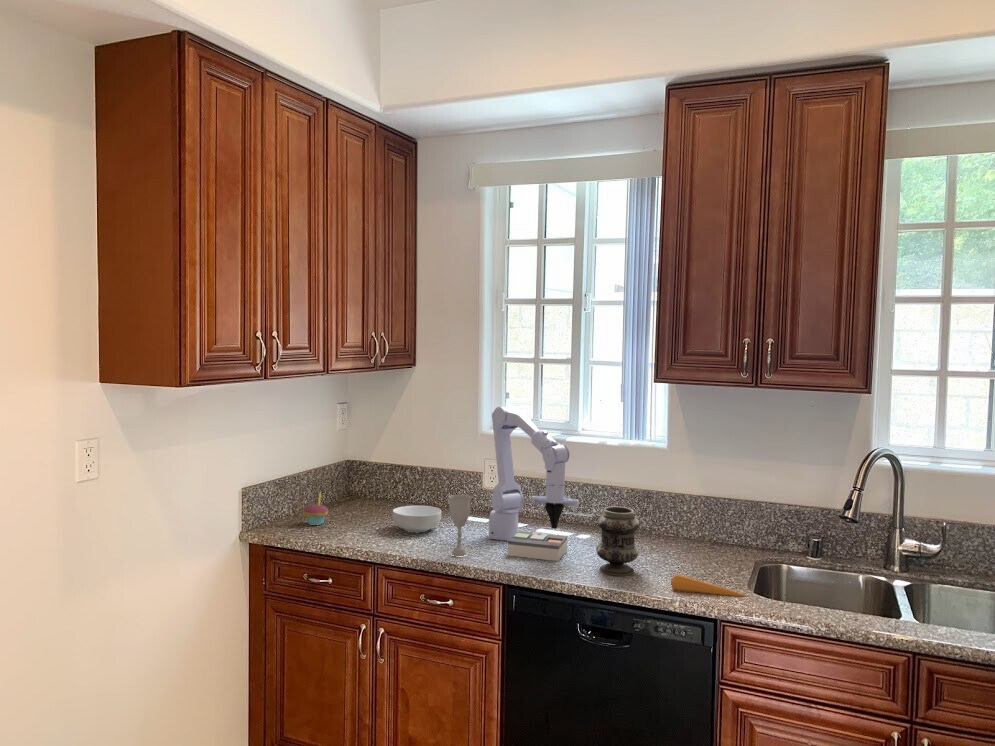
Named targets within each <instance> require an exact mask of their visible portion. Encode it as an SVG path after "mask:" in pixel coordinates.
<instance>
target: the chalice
mask: <svg viewBox="0 0 995 746" xmlns="http://www.w3.org/2000/svg"><path fill="white" fill-rule="evenodd" d="M448 499H449V514H450V515H449V516H450V518H451V520H452V522H453V524H454V526H455V527H456V528H457V531H456V532H457V533H456V535H457V538H456V540H457V545H456V546H455V547H454V548H453V549H452V552H451V554H452V555H454V556H464V555H467V556H468V553H467V551H466V548H465V547H464V546H462V541H463V538H462V534H463V533H462V528H463V527H464V526H465V525H466V523H467V521H468V519H469V516H470V514H471V500H472V495H469V494H451V495H448Z"/></svg>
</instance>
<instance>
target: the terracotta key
mask: <svg viewBox="0 0 995 746" xmlns="http://www.w3.org/2000/svg"><path fill="white" fill-rule="evenodd" d="M547 542H556V543H561V541H560V540H550V539H549V540H548V541H547Z"/></svg>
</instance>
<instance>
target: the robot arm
mask: <svg viewBox="0 0 995 746" xmlns="http://www.w3.org/2000/svg"><path fill="white" fill-rule="evenodd" d="M491 419H492V420H491V421H492V430H493V437H494V438H493V439H494V440H493V441H494V447H495V448H494V449H495V460H496V469H497V471H496V472H497V480H498V481H497V482H498V483H497V484H496V485H495V486H494V487H493V488H492V497H491V506H492V508H493V510H491V511H490V513H489V519H488V537H487V538H488V539H489V540H496V541H497V540H499V541H507V542H508V540H509V539H511V538H512V537H513V536H514V535H515V534H516V533H517V532H519V512H521V508H523V505H524V503H525V498H524V495H523V492H522V488H521V485H520V484H518V483H517V482H516V480H515V473H514V463H513V453H512V442H511V434H512V433H513V432H514V431H515V430H516V429H517V428H519V429H521V431H523V432H524V433H525V434H526V435H527V436H529V437H530V439H531V440H530V441H531V444H532V445H533V447H535V448H536V449H537V450H538V451H539V452H540V453H541V455H542V460H543V462H544V468H545V471H546V472H545V473H546V475H545V477H546V478H545V479H546V480H545V495H532V496H531V504H543V505H544V506H545V507H544V509H545V511H546V513H547V515H548V518H549V521H550V525H551V529H554V530H555V529H558V525H559V522H560V517H561V515H562V513H563V510H564V508H565V507H566V506H567V507H574V508H578V507H579V506H580V505H579V503H580V500H579V499H576V498H569V497H565V492H566V491H565V489H566V488H565V487H566V486H565V485H566V484H565V483H566V479H565V478H566V463H567V462H569V458H570V451H569V449H568V447H567V445H566V444H564V443H559V442H557V441H556V440H555V439H554V438H553V437H552V436H551V435H549V432H548V431H547V430H544V429H539V427H537V426H536V425H535V423H534V422H533V421H532V420H531V419H530V417H528V413H527V410H526V409H524V407H523V406H522V405H514V406H497V407H495V408H494V410H493V412H492V413H491Z"/></svg>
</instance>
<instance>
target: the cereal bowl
mask: <svg viewBox="0 0 995 746" xmlns="http://www.w3.org/2000/svg"><path fill="white" fill-rule="evenodd" d="M441 518H442V510H441V508H439V507H435V506H431V505H405V506H400V507H395V508H394V509H393V510H392V521H393V522H394V524H395V525H396V526H397V527H398V528H400V529H402V530H404V531H405V530H406V531H409V532H423V533H426V532H428V531H429V530H430V529H433V528H435V527H437V526H438V525H439V523H440V522H441ZM427 530H428V531H427ZM406 531H405V532H406ZM425 531H426V532H425ZM409 532H408V533H409Z"/></svg>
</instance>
